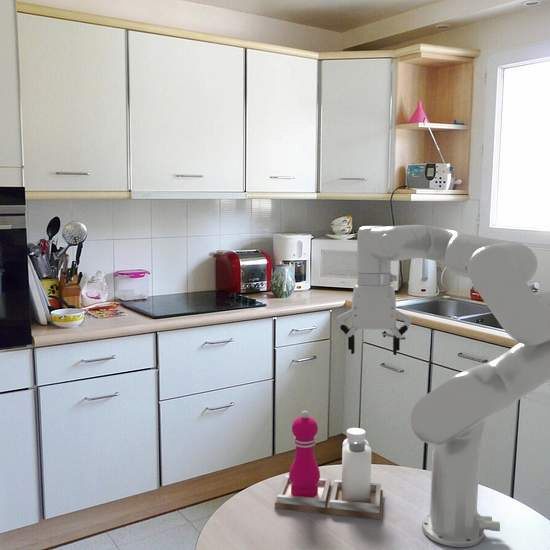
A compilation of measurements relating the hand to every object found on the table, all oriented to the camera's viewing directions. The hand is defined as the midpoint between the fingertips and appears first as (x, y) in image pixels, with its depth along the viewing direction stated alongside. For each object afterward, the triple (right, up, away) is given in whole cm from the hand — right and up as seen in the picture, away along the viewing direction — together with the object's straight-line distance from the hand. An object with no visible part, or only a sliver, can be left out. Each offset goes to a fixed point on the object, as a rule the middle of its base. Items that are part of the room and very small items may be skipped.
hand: (373, 353), depth 146 cm
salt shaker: (-4, -34, -1) cm, 34 cm away
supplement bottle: (-3, -34, +12) cm, 36 cm away
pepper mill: (-16, -33, +2) cm, 37 cm away
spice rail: (-10, -35, +1) cm, 36 cm away
